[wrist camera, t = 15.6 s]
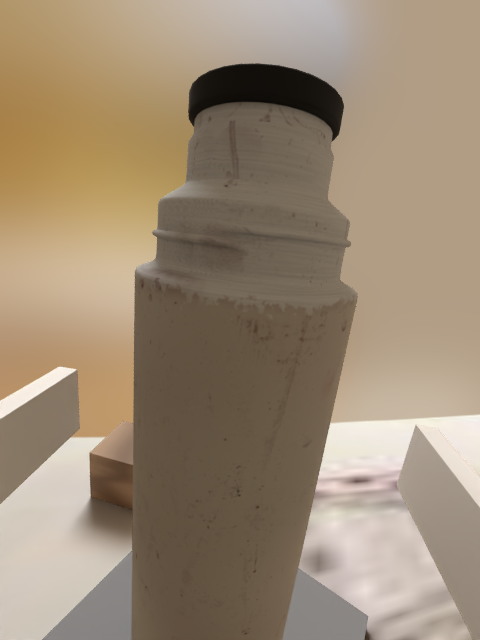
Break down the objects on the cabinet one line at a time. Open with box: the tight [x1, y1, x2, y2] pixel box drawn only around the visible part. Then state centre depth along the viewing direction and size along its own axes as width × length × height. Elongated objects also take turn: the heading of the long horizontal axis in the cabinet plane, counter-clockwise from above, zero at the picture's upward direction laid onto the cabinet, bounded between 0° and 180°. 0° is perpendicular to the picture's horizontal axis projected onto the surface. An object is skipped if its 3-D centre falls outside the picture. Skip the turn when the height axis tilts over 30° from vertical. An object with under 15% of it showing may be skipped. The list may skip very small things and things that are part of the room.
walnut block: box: [90, 421, 133, 510], centre depth 29 cm, size 5×5×5 cm
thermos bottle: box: [131, 64, 358, 640], centre depth 13 cm, size 8×8×28 cm
